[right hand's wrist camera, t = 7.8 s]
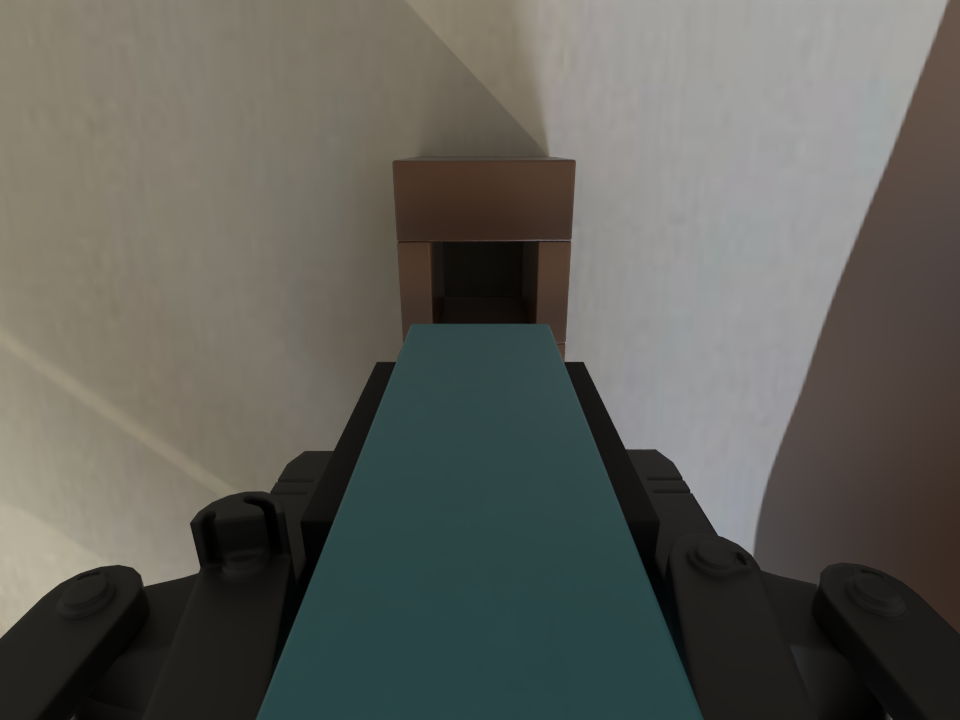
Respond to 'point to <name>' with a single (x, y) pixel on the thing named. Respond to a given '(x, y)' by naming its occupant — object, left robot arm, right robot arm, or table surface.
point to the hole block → (485, 235)
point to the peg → (479, 557)
